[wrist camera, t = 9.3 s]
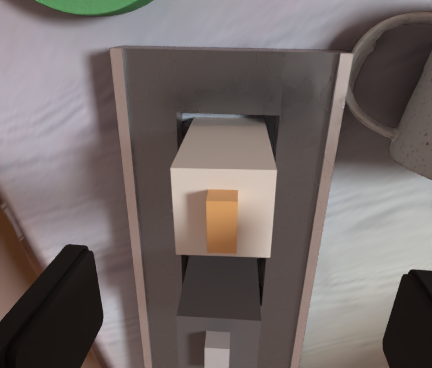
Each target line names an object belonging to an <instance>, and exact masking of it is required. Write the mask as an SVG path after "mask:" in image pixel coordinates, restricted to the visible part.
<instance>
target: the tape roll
mask: <svg viewBox="0 0 432 368" xmlns="http://www.w3.org/2000/svg"><path fill="white" fill-rule="evenodd" d="M35 1H37V2H38V3H40V4H42V5H45V6H47V7H50V8H53V9H55V10H58V11H61V12H66V13H71V14H77V15H93V16H107V15H118V14H123V13H127V12H131V11H134V10H136V9H138V8H141V7H143V6H145V5H147V4H148V3H150V2H151V1H153V0H35Z"/></svg>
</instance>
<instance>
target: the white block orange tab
mask: <svg viewBox="0 0 432 368" xmlns="http://www.w3.org/2000/svg"><path fill="white" fill-rule="evenodd" d="M170 171H171V186H172V202H173V217H174V232H175V247H176V255H205V256H234V257H263V258H270V254H271V242H272V229H273V216H274V203H275V190H276V177H277V168H276V164H275V160H274V156H273V152H272V148H271V144H270V140H269V136H268V132H267V128H266V124H265V120H264V118H220V117H194V119H193V121H192V123H191V125H190V127H189V129H188V131H187V134H186V136H185V138H184V140H183V142H182V144H181V146H180V148H179V151H178V153H177V155H176V157H175V159H174V161H173V163H172V165H171V168H170Z"/></svg>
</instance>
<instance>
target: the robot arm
mask: <svg viewBox="0 0 432 368" xmlns="http://www.w3.org/2000/svg"><path fill="white" fill-rule="evenodd" d="M102 323H103V309H102V302H101V296H100V290H99V284H98V278H97V272H96V265H95V259H94V254H93V252H92V251H89V249H88V247H87V246H85V245H72V244H68V245H66V246H65V247H64V248H63V249H62V250H61V252H60V253H59V254H58V255H57V256H56V257H55V259H54V260H53V261H52V262H51V263H50V264H49V266H48V267H47V268H46V269H45V270H44V271H43V273H42V274H41V275H40V276H39V277H38V278H37V280H36V281H35V282H34V283H33V284H32V285H31V287H30V288H29V289H28V290H27V291H26V292H25V293H24V295H23V296H22V297H21V298H20V299H19V300H18V302H17V303H16V304H15V305H14V306H13V307H12V308H11V310H10V311H9V312H8V313H7V314H6V315H5V317H4V318H3V319H2V320H1V321H0V368H80V367H81V366H82V364H83V362H84V359H85V358H86V356H87V353H88V352H89V350H90V348H91V346H92V344H93V342H94V340H95V338H96V336H97V334H98V332H99V330H100V328H101V326H102ZM383 351H384V354H385V357H386V359H387V362H388V364H389V367H390V368H432V271H427V270H410V271H409V273H408V274H404V275H403V276H402V278H401V282H400V285H399V288H398V291H397V295H396V298H395V301H394V305H393V308H392V311H391V314H390V318H389V321H388V324H387V328H386V331H385V334H384V337H383Z"/></svg>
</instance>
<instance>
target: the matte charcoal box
mask: <svg viewBox="0 0 432 368" xmlns="http://www.w3.org/2000/svg"><path fill="white" fill-rule="evenodd" d="M176 321H177V342H178V364H179V368H257V361H258V351H259V341H260V330H261V308H260V294H259V280H258V266H257V257H234V256H205V255H189V259H188V264H187V268H186V273H185V278H184V282H183V287H182V292H181V296H180V301H179V306H178V310H177V315H176Z"/></svg>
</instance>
